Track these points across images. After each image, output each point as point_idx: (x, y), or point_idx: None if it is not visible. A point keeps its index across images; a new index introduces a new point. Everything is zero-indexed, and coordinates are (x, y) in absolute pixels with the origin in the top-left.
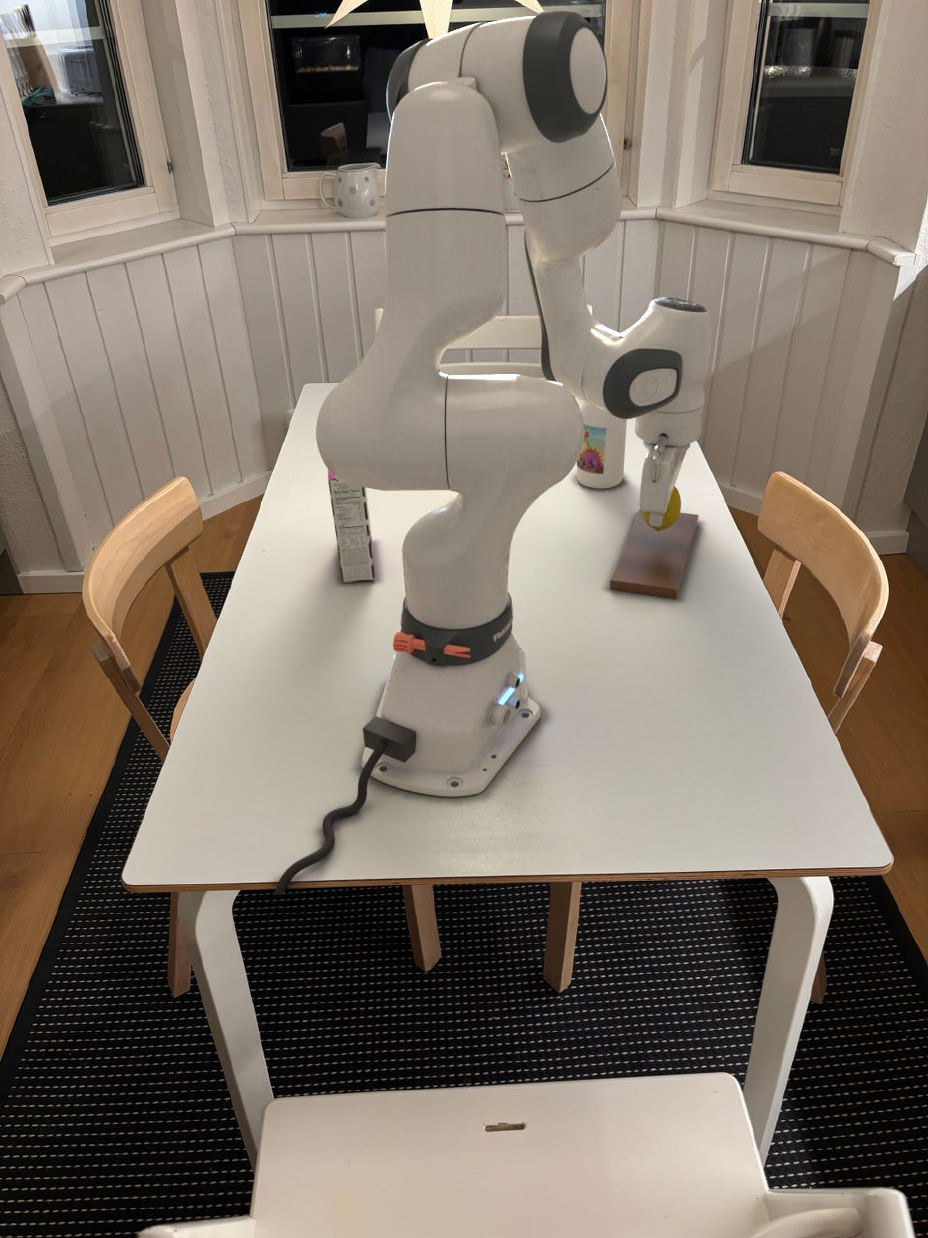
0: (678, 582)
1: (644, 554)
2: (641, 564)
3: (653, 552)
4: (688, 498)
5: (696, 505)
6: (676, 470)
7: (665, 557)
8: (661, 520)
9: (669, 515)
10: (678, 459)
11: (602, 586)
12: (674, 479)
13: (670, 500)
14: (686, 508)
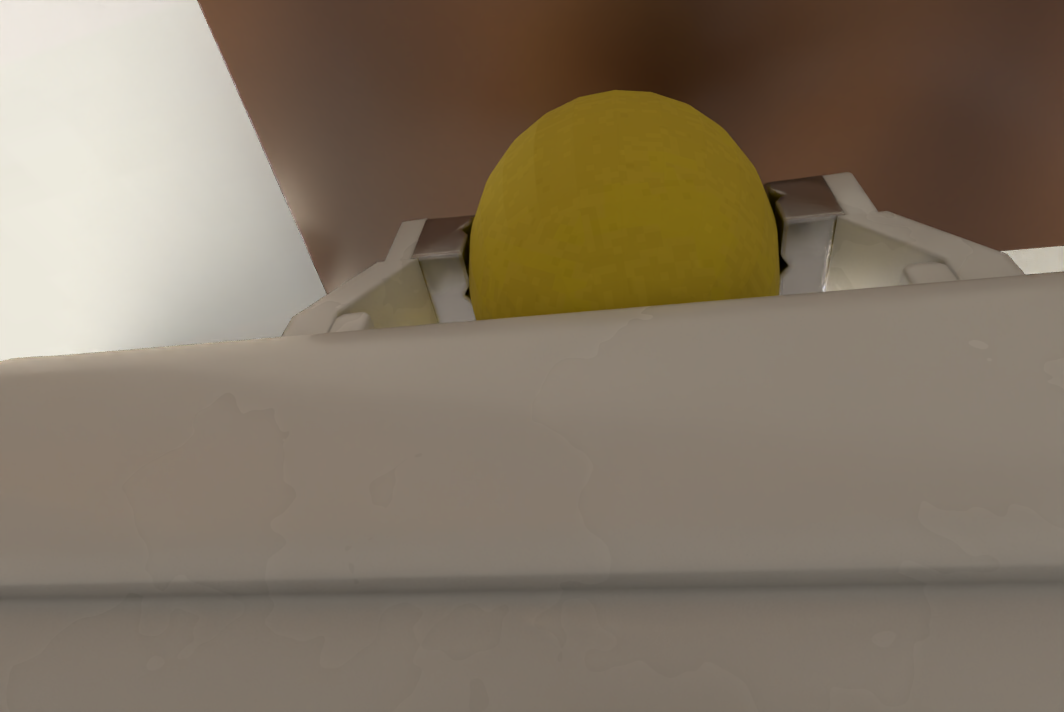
0: None
1: (817, 158)
2: (946, 141)
3: (786, 118)
4: (4, 116)
5: (32, 49)
6: (740, 448)
7: (837, 29)
8: (864, 196)
9: (749, 162)
10: (594, 549)
11: (1059, 247)
12: (886, 389)
13: (742, 236)
14: (109, 94)
